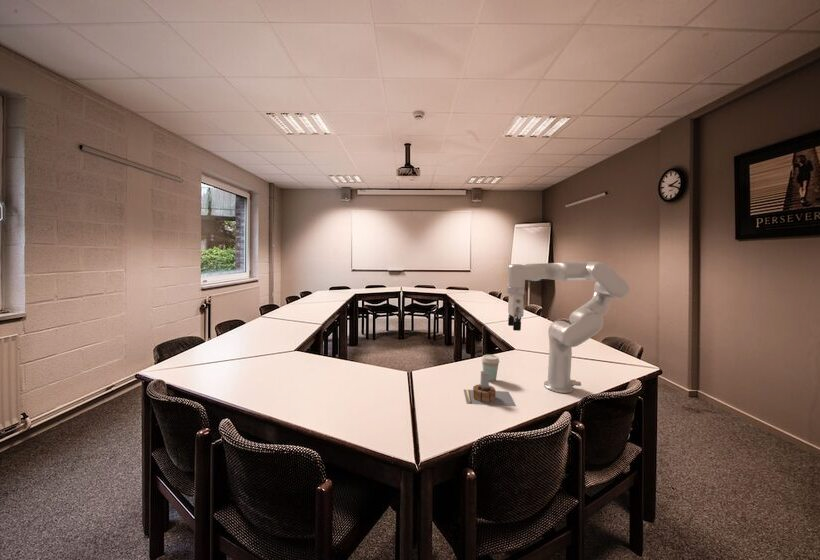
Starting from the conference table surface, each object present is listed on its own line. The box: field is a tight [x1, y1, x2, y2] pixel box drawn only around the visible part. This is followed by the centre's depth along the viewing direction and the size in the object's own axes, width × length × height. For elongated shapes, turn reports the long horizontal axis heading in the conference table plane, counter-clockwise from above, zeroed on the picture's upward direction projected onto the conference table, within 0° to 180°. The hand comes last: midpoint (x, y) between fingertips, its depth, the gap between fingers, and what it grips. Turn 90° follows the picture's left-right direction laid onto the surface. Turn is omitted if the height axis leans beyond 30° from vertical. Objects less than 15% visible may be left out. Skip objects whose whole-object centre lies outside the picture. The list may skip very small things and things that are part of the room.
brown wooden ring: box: [472, 383, 497, 403], centre depth 137 cm, size 9×9×4 cm
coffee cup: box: [481, 354, 500, 383], centre depth 158 cm, size 8×8×12 cm
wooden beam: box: [479, 370, 490, 391], centre depth 137 cm, size 3×3×11 cm
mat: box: [463, 388, 517, 407], centre depth 138 cm, size 20×14×1 cm
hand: (514, 327), depth 148 cm, fingers open, 9 cm apart
